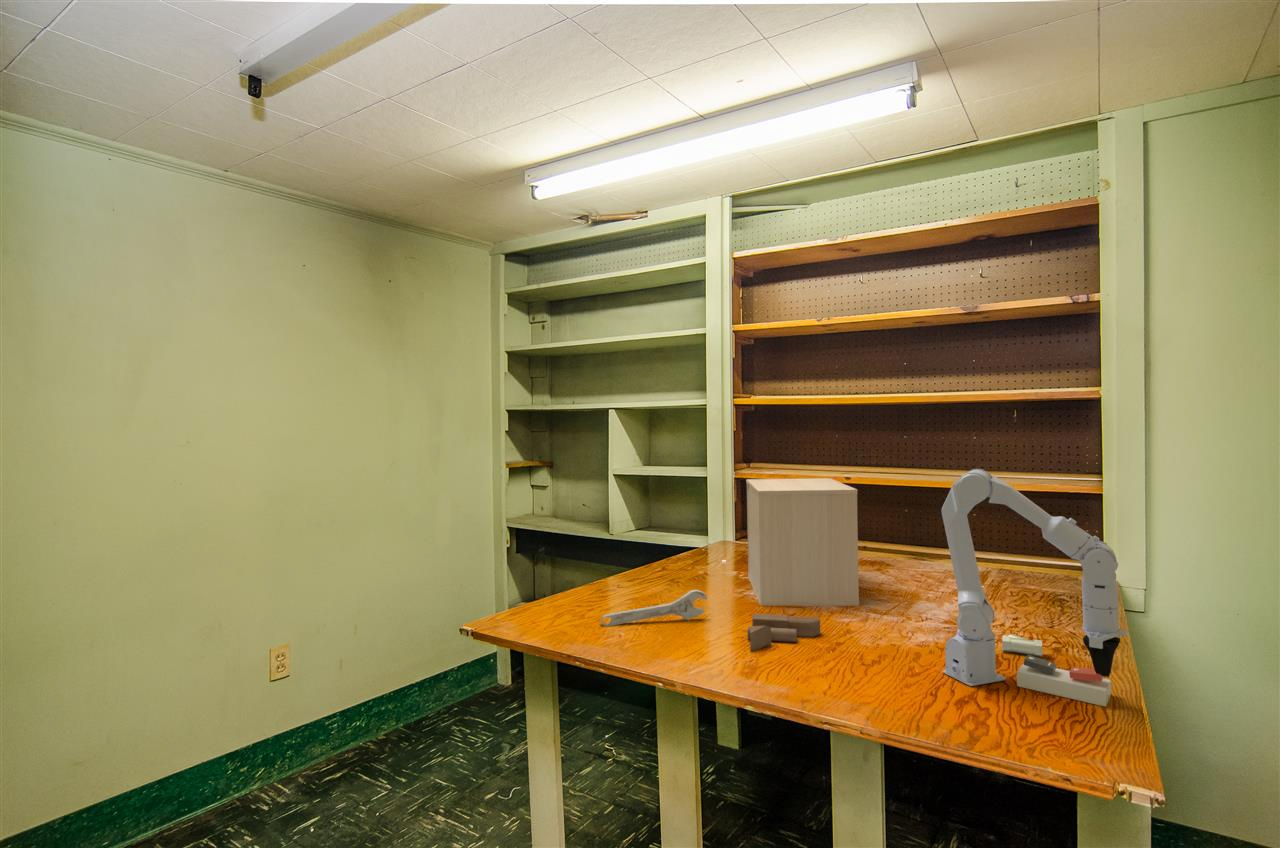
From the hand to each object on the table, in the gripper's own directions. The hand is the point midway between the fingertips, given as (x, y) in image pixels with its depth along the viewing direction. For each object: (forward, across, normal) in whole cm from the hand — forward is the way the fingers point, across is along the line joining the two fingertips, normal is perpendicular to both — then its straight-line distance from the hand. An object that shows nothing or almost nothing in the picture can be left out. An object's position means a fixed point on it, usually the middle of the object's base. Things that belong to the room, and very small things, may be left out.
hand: (1103, 674), depth 127 cm
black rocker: (0, 0, +11) cm, 11 cm away
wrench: (+3, -19, +100) cm, 102 cm away
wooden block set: (+4, -10, +65) cm, 66 cm away
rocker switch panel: (+5, 0, +7) cm, 8 cm away
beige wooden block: (+3, +35, +85) cm, 92 cm away
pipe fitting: (+5, +19, +18) cm, 27 cm away
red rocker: (0, 0, +3) cm, 3 cm away
